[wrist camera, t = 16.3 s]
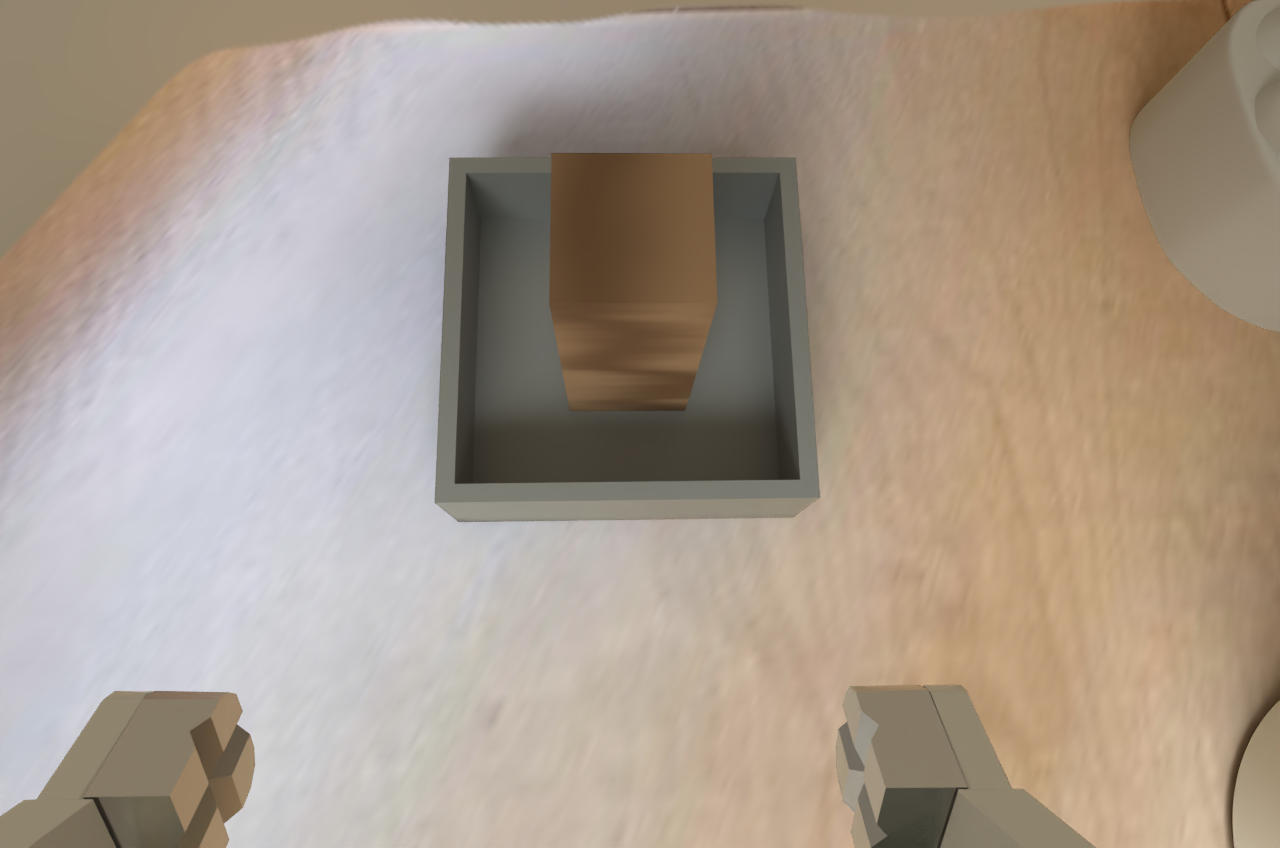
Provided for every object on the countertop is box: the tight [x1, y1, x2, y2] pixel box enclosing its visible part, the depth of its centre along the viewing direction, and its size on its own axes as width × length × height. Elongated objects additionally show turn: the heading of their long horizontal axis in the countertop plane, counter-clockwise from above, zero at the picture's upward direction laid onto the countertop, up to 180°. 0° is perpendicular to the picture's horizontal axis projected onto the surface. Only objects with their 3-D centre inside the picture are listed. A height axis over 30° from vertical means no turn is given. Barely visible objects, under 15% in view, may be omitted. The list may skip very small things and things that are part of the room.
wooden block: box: [549, 153, 717, 411], centre depth 32 cm, size 5×5×12 cm
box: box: [435, 158, 820, 522], centre depth 36 cm, size 14×14×5 cm
